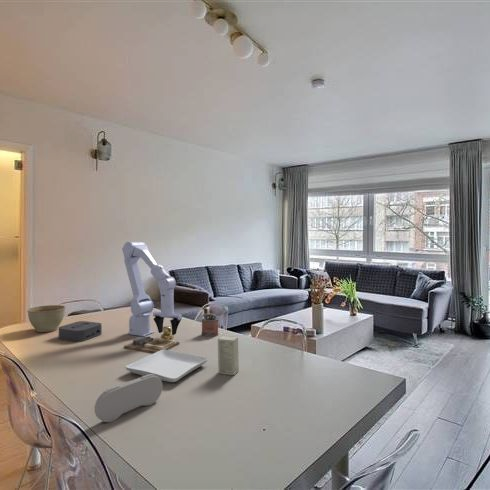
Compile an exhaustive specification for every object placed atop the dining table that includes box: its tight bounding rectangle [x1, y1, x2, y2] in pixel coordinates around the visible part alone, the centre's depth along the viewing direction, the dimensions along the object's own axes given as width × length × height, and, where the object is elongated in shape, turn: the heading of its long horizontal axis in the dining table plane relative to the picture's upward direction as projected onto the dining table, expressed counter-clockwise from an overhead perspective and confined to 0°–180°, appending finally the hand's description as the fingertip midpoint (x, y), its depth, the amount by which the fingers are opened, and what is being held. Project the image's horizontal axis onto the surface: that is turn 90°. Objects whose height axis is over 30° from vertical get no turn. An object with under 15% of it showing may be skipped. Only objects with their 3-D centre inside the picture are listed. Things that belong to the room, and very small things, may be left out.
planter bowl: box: [27, 304, 66, 333], centre depth 174 cm, size 16×16×11 cm
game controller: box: [94, 374, 163, 423], centre depth 96 cm, size 20×2×8 cm, turn 140°
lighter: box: [201, 313, 219, 337], centre depth 168 cm, size 8×3×10 cm, turn 84°
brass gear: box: [160, 325, 174, 340], centre depth 163 cm, size 6×6×5 cm
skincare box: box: [217, 335, 240, 376], centre depth 123 cm, size 6×4×12 cm
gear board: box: [123, 335, 180, 354], centre depth 151 cm, size 18×14×2 cm
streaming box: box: [58, 320, 103, 342], centre depth 165 cm, size 14×14×5 cm
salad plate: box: [124, 349, 209, 383], centre depth 125 cm, size 21×21×3 cm
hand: (167, 333), depth 163 cm, fingers open, 7 cm apart
